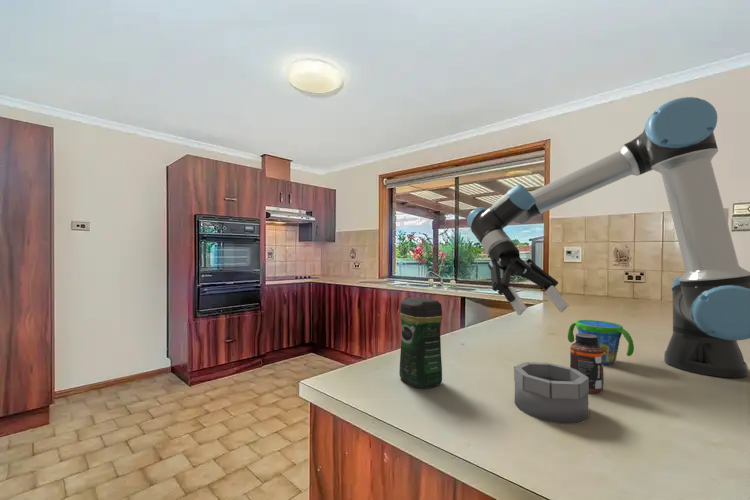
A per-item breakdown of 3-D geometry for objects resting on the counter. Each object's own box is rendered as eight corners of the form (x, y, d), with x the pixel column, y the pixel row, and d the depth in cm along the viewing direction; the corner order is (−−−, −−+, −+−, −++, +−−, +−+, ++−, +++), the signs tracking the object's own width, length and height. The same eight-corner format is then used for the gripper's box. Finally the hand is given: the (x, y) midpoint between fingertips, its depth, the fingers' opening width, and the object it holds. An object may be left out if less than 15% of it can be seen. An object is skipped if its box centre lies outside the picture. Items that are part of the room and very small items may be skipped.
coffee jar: (448, 385, 72) (449, 299, 72) (418, 392, 68) (418, 301, 68) (422, 371, 80) (422, 294, 81) (393, 376, 77) (394, 295, 77)
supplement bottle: (609, 395, 67) (609, 339, 68) (576, 392, 68) (576, 337, 69) (595, 384, 73) (595, 332, 73) (566, 382, 74) (566, 331, 75)
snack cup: (643, 367, 85) (643, 327, 85) (616, 373, 81) (616, 330, 81) (583, 351, 99) (583, 317, 99) (558, 355, 95) (558, 319, 95)
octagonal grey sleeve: (566, 395, 67) (566, 362, 67) (603, 425, 55) (603, 385, 55) (505, 393, 68) (506, 361, 68) (529, 422, 56) (529, 383, 56)
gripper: (526, 258, 102) (571, 316, 88) (458, 258, 93) (495, 322, 79) (541, 240, 97) (590, 298, 83) (470, 238, 88) (512, 302, 74)
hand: (544, 310), depth 81 cm, fingers open, 13 cm apart
